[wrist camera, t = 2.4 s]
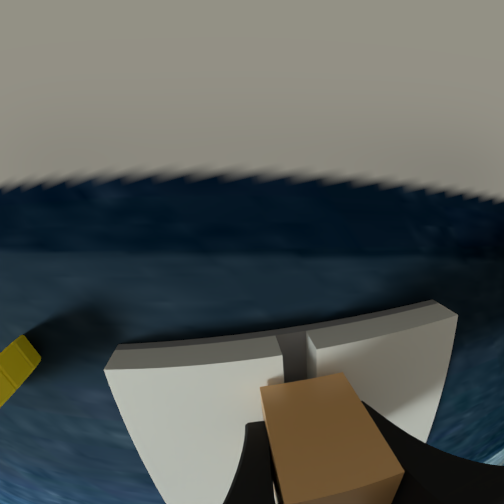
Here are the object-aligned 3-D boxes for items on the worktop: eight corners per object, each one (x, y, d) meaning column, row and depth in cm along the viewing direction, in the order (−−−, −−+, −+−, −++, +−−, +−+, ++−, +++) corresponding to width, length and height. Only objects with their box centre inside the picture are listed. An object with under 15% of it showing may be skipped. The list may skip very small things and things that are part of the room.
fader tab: (326, 421, 13) (376, 532, 6) (263, 432, 13) (287, 555, 6) (329, 351, 12) (404, 471, 6) (254, 363, 12) (284, 505, 5)
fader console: (384, 498, 16) (393, 517, 14) (198, 531, 16) (198, 553, 13) (432, 299, 13) (459, 315, 11) (118, 344, 12) (103, 371, 10)
